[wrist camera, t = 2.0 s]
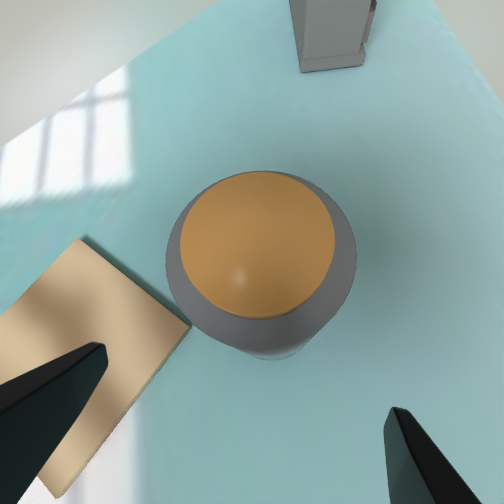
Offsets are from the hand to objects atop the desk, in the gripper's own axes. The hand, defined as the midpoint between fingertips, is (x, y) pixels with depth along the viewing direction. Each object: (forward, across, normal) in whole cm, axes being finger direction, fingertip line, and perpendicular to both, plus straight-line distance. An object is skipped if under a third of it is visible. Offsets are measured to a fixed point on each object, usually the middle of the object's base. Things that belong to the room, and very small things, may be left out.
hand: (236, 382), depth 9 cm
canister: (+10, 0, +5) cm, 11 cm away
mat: (+7, +13, +8) cm, 17 cm away
